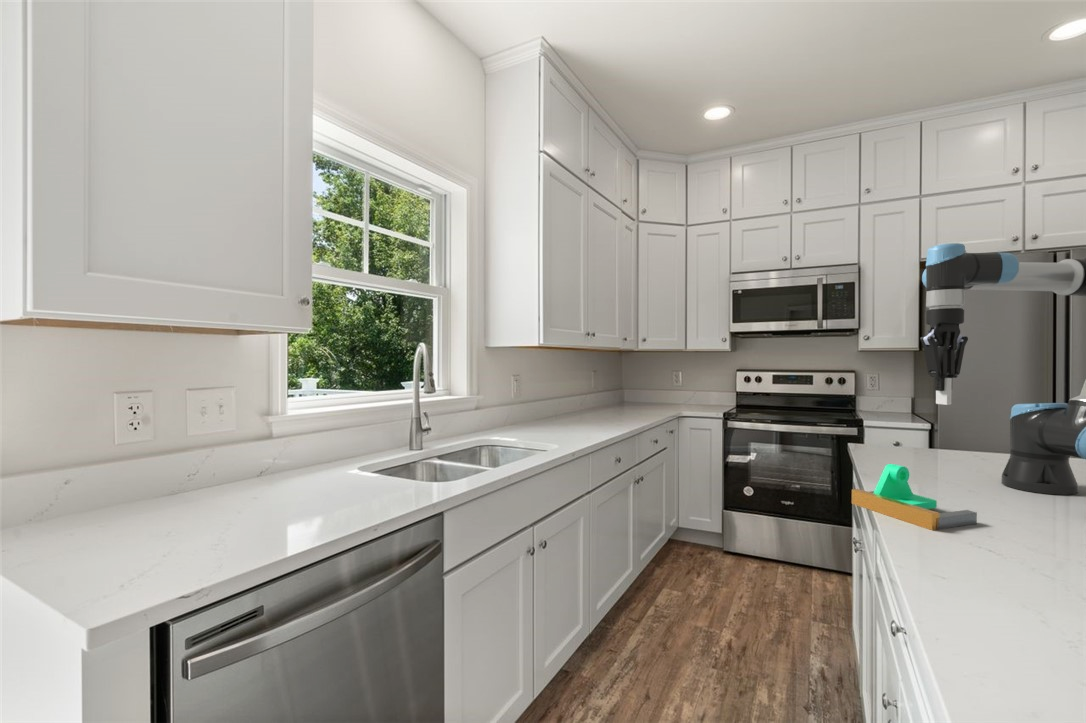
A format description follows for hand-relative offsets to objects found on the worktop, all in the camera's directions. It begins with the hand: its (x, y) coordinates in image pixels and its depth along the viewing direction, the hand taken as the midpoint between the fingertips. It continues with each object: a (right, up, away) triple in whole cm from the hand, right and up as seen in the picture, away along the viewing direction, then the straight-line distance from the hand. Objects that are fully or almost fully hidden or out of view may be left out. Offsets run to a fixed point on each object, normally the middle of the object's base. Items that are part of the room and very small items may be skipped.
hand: (943, 404), depth 131 cm
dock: (-13, -25, -8) cm, 29 cm away
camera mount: (-13, -25, -5) cm, 28 cm away
